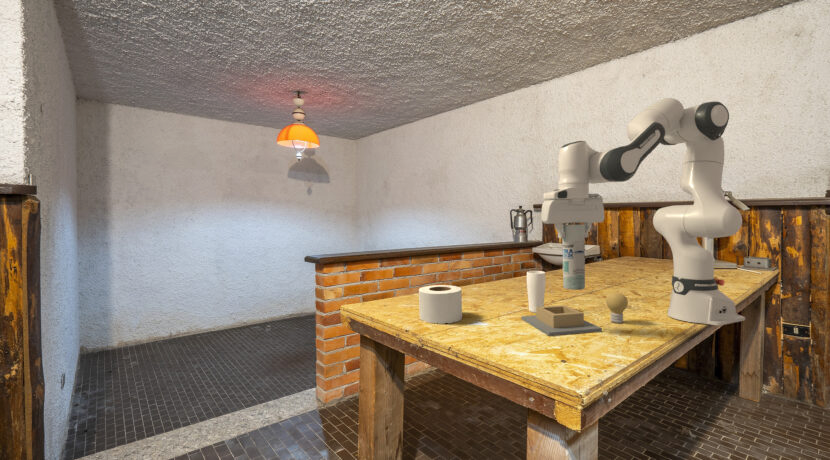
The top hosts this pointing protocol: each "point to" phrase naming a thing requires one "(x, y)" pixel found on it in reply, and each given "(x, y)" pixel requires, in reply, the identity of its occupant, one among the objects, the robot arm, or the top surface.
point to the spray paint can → (574, 257)
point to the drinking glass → (535, 289)
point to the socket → (560, 321)
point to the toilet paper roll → (440, 304)
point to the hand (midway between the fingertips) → (573, 237)
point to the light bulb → (616, 306)
